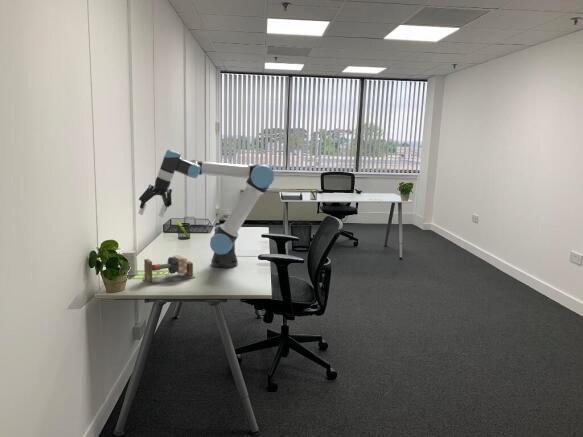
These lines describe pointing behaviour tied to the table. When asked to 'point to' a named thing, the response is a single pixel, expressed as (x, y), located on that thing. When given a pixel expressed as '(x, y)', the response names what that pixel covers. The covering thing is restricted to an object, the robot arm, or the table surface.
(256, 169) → the robot arm
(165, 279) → the pipe stand
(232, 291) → the table surface
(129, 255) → the skincare box
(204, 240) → the table surface
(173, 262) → the o-ring
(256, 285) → the table surface
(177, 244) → the table surface
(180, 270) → the sleeve
